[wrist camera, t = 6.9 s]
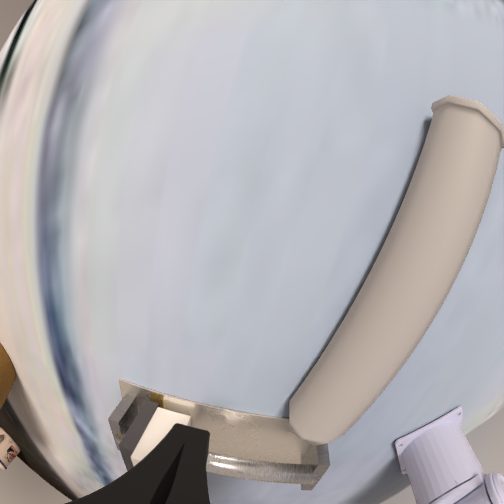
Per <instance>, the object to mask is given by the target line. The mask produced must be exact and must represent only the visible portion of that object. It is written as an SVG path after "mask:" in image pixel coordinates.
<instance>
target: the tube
mask: <svg viewBox="0 0 504 504" xmlns="http://www.w3.org/2000/svg"><path fill="white" fill-rule="evenodd" d="M431 109H432V111H433V117H432V121H431V124H430V127H429V131H428V134H427V137H426V140H425V143H424V146H423V149H422V152H421V155H420V158H419V161H418V164H417V166H416V169H415V172H414V175H413V177H412V180H411V182H410V185H409V188H408V190H407V193H406V195H405V197H404V200H403V202H402V205H401V207H400V209H399V212H398V214H397V216H396V219H395V221H394V223H393V225H392V228H391V230H390V232H389V234H388V236H387V239H386V241H385V243H384V245H383V247H382V249H381V251H380V253H379V255H378V257H377V259H376V261H375V263H374V265H373V267H372V269H371V271H370V273H369V275H368V277H367V279H366V281H365V282H364V284H363V286H362V288H361V290H360V292H359V293H358V295H357V297H356V299H355V301H354V302H353V304H352V306H351V308H350V309H349V311H348V313H347V315H346V316H345V318H344V320H343V321H342V323H341V325H340V326H339V328H338V330H337V331H336V333H335V335H334V336H333V338H332V339H331V341H330V343H329V344H328V346H327V347H326V349H325V350H324V352H323V353H322V355H321V357H320V358H319V360H318V361H317V363H316V364H315V366H314V367H313V369H312V370H311V371H310V373H309V374H308V376H307V377H306V379H305V380H304V382H303V383H302V384H301V386H300V387H299V389H298V390H297V391H296V393H295V394H294V395H293V397H292V398H291V399H290V401H289V426H288V429H289V430H290V431H291V432H292V433H294V434H295V435H296V436H297V437H298V438H300V439H301V440H303V441H305V442H307V443H310V444H312V445H314V446H318V445H322V444H326V443H329V442H331V441H333V440H335V439H337V438H339V437H341V436H342V435H344V434H345V433H346V432H347V431H348V430H349V429H350V428H351V427H352V426H353V425H354V424H355V423H356V422H357V421H358V419H359V418H360V417H361V416H362V415H363V414H364V413H365V412H366V411H367V410H368V408H369V407H370V406H371V405H372V404H373V403H374V402H375V400H376V399H377V398H378V397H379V396H380V394H381V393H382V392H383V391H384V390H385V388H386V387H387V386H388V385H389V383H390V382H391V381H392V380H393V378H394V377H395V376H396V374H397V373H398V372H399V370H400V369H401V368H402V366H403V365H404V364H405V362H406V361H407V359H408V358H409V357H410V355H411V354H412V352H413V351H414V349H415V348H416V346H417V345H418V343H419V342H420V340H421V339H422V337H423V336H424V334H425V333H426V331H427V329H428V328H429V326H430V325H431V323H432V321H433V320H434V318H435V316H436V315H437V313H438V311H439V309H440V308H441V306H442V304H443V302H444V300H445V299H446V297H447V295H448V293H449V291H450V289H451V287H452V285H453V283H454V281H455V279H456V277H457V275H458V273H459V271H460V269H461V267H462V265H463V263H464V261H465V258H466V256H467V254H468V251H469V249H470V247H471V244H472V242H473V239H474V237H475V234H476V232H477V229H478V227H479V224H480V221H481V218H482V216H483V213H484V210H485V207H486V204H487V201H488V198H489V194H490V191H491V188H492V184H493V180H494V177H495V173H496V169H497V165H498V160H499V156H500V152H501V149H502V148H504V130H503V125H502V123H501V122H500V121H499V120H498V119H497V118H496V117H495V116H494V115H493V114H492V113H491V112H490V111H489V110H488V109H487V108H486V107H485V106H484V105H482V104H481V103H480V102H478V101H474V100H470V99H465V98H461V97H456V96H451V95H449V96H447V97H444V98H442V99H440V100H438V101H436V102H434V103H432V107H431Z"/></svg>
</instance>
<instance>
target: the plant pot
mask: <svg viewBox="0 0 504 504" xmlns="http://www.w3.org/2000/svg"><path fill="white" fill-rule="evenodd" d="M15 377H16V375H15V370H14V367H13V365H12V362H11V360H10V358H9V356H8V354H7V353H6V351H5V350H4V348H3V347H2V345H1V344H0V410H1V408H2V406H3V404H4V402H5V400H6V398H7V396H8V394H9V391H10V389H11V387H12V385H13V383H14V380H15Z"/></svg>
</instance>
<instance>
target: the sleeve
mask: <svg viewBox="0 0 504 504" xmlns="http://www.w3.org/2000/svg"><path fill="white" fill-rule="evenodd" d="M176 423H179V424H183V425H187V426H190V424H191V416H188V415H184V414H180V413H177V412H173V411H170V410H166V409H163V408H160V407H158V408H157V409H156V411H155V413H154V415H153V417H152V419H151V420H150V422H149V424H148V426H147V428H146V430H145V431H144V433H143V435H142V437H141V439H140V441H139V442H138V444H137V446H136V448H135V450H134V452H133V454H132V455H131V460H132V463H133V466H135V465H136V464H137V463H139V462H140V461H141V460H142V459H143V458H144V457H145V456H147V455H148V454H149V453H150V452H151V451H152V450H153V449H154V448H155V447H156V446H157V445H158V444H159V442H160V441H161V440H162V439H163V438H164V437H165V436H166V435H167V433H168V432H169V431H170V430H171V428H172V427H173V426H174V424H176Z"/></svg>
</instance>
